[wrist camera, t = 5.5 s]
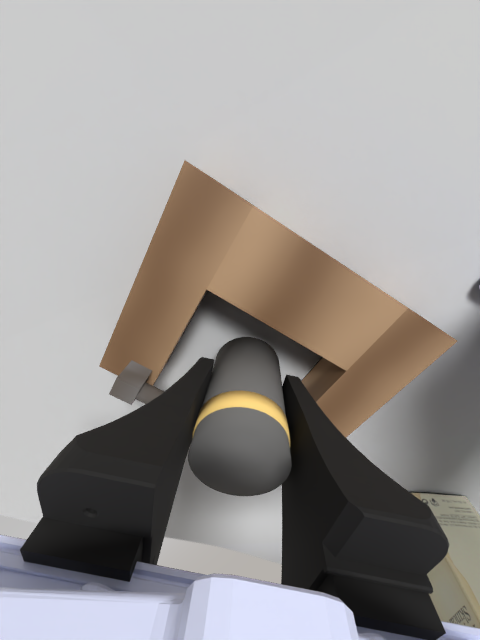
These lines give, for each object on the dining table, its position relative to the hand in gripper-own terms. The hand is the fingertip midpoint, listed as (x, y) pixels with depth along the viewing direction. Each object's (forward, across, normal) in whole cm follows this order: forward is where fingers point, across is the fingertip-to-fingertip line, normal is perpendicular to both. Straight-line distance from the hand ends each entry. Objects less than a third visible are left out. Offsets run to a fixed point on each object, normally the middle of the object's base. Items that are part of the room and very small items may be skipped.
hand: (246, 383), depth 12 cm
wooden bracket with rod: (+3, 0, -1) cm, 3 cm away
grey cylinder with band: (+2, 0, 0) cm, 2 cm away
